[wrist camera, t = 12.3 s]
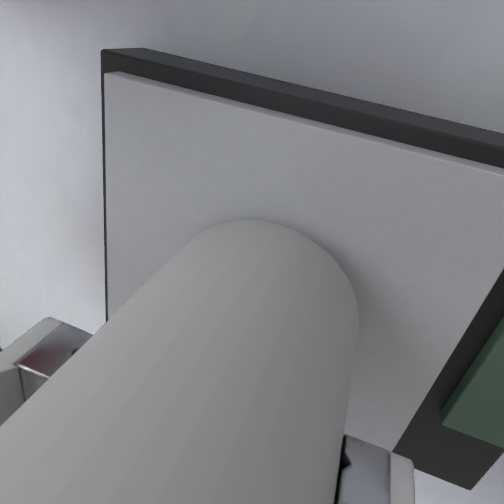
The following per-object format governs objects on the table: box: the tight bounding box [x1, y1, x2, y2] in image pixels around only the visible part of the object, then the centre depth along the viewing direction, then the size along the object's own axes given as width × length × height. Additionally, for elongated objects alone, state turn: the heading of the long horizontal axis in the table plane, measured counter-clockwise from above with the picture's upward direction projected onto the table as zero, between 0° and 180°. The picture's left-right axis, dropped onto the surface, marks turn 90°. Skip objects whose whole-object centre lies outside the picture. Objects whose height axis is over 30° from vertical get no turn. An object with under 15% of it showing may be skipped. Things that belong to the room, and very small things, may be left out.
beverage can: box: [0, 220, 359, 504], centre depth 9 cm, size 6×6×12 cm
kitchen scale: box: [101, 48, 504, 490], centre depth 15 cm, size 17×13×3 cm
